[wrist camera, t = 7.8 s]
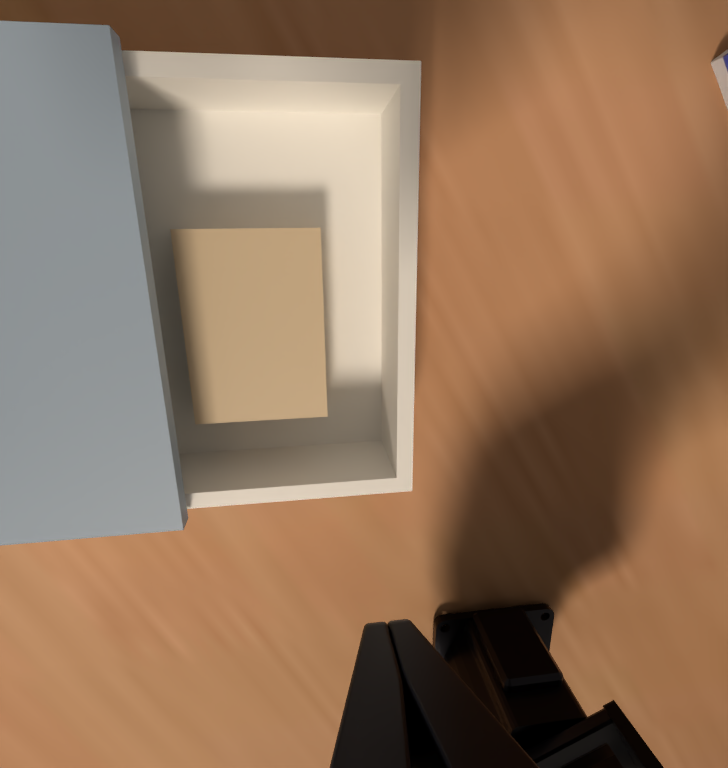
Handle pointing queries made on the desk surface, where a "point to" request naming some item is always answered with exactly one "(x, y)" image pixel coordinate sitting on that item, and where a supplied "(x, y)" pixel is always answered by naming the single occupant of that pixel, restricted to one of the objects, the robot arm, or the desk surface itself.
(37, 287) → the lid
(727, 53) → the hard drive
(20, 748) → the desk surface
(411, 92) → the box
